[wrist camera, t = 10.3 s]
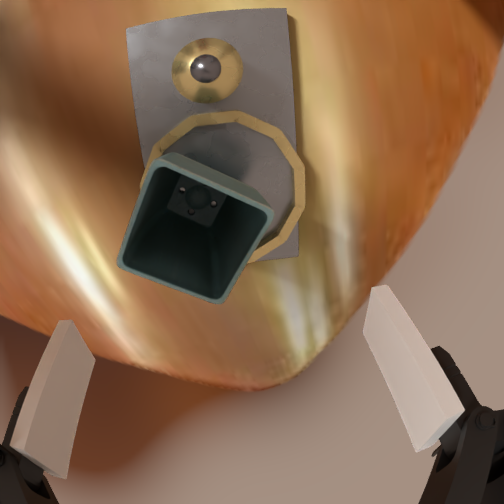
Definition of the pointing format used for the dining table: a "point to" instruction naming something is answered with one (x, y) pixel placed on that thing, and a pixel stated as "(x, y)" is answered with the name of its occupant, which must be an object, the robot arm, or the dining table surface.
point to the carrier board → (224, 106)
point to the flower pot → (193, 228)
